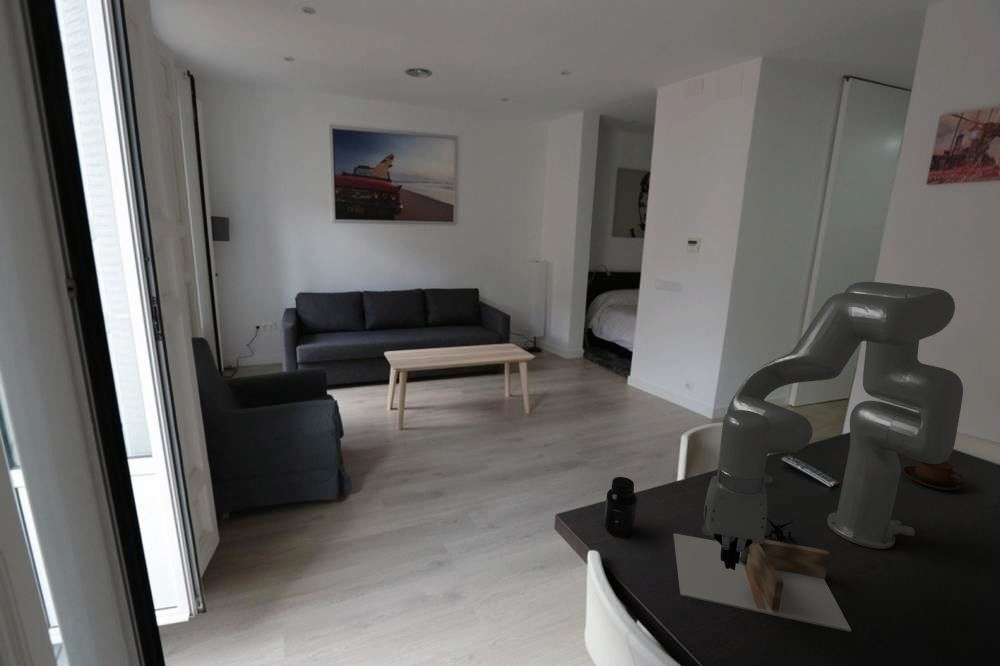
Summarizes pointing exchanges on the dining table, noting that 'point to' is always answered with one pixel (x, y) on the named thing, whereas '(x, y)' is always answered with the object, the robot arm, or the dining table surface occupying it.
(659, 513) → the dining table surface
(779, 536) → the creature
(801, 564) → the fence
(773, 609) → the gate panel
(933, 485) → the cup and saucer
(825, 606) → the card
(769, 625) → the dining table surface
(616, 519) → the supplement bottle
